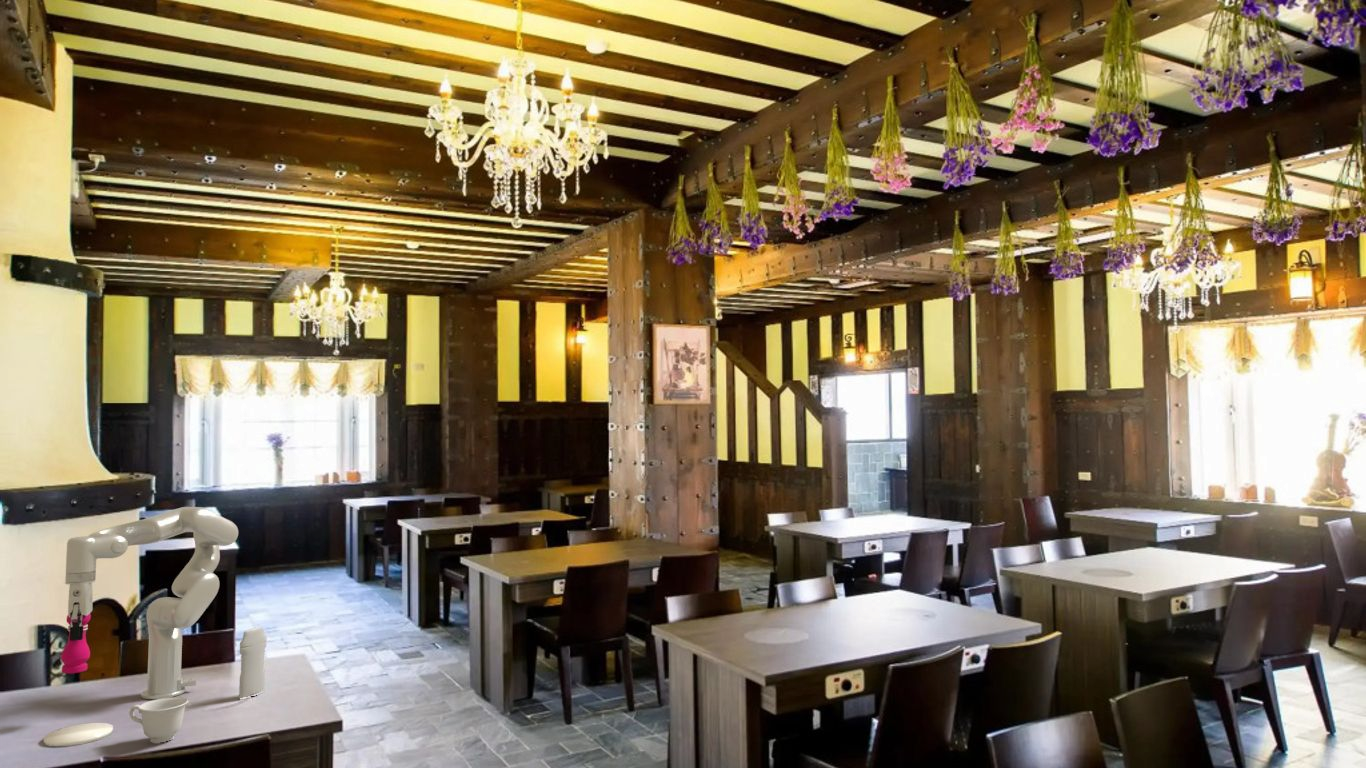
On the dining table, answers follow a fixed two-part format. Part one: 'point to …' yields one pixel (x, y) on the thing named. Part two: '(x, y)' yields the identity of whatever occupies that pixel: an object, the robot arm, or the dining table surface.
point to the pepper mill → (76, 650)
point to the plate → (78, 734)
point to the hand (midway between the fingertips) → (78, 637)
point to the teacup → (161, 717)
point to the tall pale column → (252, 662)
